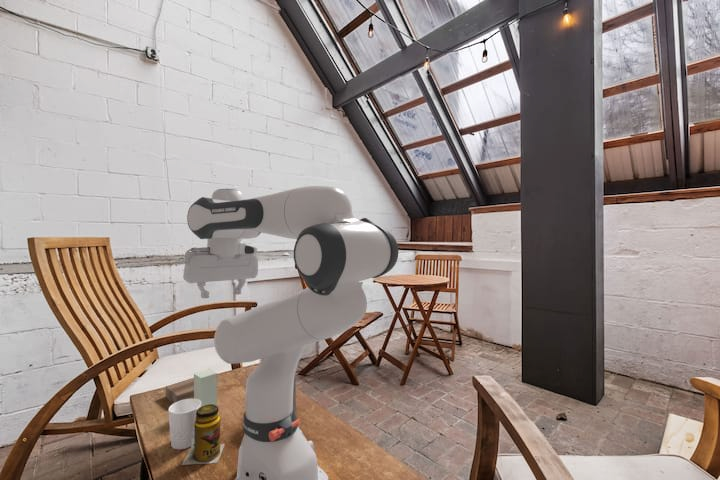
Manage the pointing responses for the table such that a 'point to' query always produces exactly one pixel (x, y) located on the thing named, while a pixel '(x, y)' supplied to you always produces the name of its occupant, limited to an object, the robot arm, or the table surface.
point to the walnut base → (180, 391)
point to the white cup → (183, 423)
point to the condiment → (206, 437)
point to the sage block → (205, 387)
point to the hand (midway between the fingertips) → (221, 295)
